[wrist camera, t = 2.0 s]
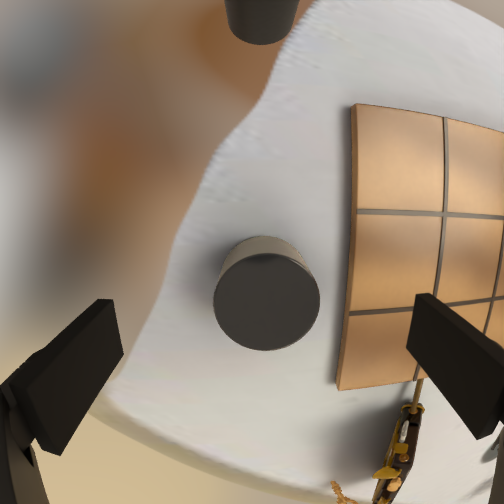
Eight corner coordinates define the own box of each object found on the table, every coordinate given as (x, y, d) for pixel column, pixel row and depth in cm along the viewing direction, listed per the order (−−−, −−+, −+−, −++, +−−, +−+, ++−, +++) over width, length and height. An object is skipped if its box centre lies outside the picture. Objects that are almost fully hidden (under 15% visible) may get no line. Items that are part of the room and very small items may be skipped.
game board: (350, 106, 16) (356, 102, 15) (569, 159, 16) (578, 160, 15) (334, 382, 20) (338, 393, 19) (542, 338, 20) (549, 343, 19)
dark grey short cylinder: (219, 236, 18) (210, 254, 14) (308, 235, 18) (323, 252, 14) (222, 317, 19) (216, 351, 15) (304, 315, 19) (316, 349, 15)
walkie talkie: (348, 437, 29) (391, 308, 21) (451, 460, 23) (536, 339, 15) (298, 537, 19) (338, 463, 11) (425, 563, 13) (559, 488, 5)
